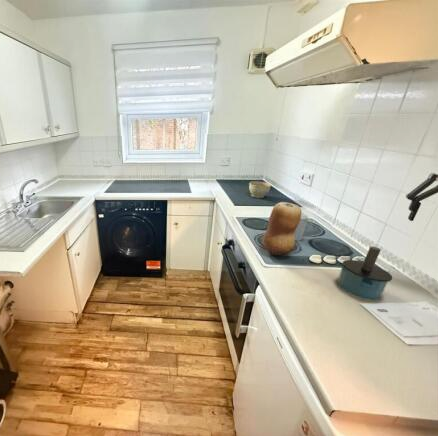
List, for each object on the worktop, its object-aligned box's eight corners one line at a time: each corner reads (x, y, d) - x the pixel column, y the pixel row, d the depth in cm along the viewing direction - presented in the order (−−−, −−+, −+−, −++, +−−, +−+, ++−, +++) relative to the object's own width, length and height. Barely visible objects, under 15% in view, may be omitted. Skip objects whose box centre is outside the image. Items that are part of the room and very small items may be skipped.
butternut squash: (294, 262, 106) (309, 210, 96) (262, 258, 110) (273, 207, 100) (286, 247, 119) (299, 200, 109) (258, 244, 122) (267, 198, 112)
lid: (385, 270, 88) (396, 247, 84) (396, 288, 77) (408, 262, 74) (340, 259, 95) (348, 236, 91) (343, 274, 84) (353, 249, 80)
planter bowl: (270, 200, 187) (273, 186, 183) (248, 198, 190) (251, 185, 186) (266, 194, 201) (268, 181, 197) (246, 193, 205) (248, 180, 200)
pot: (375, 282, 94) (384, 264, 90) (384, 310, 80) (394, 290, 77) (336, 271, 100) (342, 254, 97) (338, 295, 86) (345, 276, 83)
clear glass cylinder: (292, 241, 125) (298, 219, 120) (278, 233, 133) (283, 213, 129) (306, 238, 127) (313, 217, 123) (292, 231, 136) (297, 211, 131)
